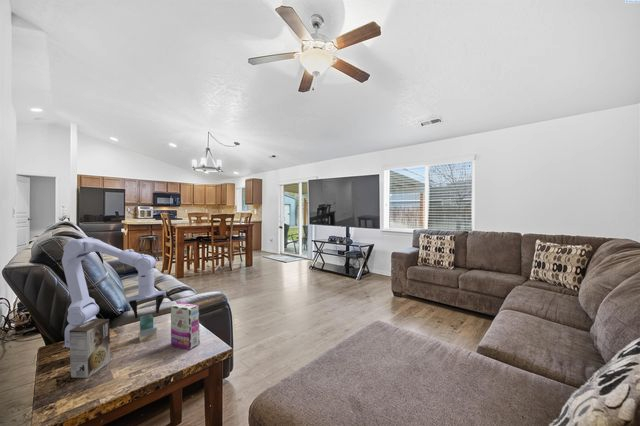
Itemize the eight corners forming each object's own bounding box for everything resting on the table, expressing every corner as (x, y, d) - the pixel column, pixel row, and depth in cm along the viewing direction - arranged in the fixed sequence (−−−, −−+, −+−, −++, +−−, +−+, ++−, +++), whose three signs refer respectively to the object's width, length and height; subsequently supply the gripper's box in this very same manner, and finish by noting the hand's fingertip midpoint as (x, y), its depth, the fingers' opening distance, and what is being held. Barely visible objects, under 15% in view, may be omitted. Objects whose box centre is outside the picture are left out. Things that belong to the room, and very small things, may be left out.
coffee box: (94, 361, 95) (93, 318, 94) (111, 361, 94) (110, 318, 94) (69, 377, 86) (68, 330, 85) (88, 378, 85) (87, 330, 85)
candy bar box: (200, 344, 106) (199, 305, 106) (190, 350, 102) (189, 309, 101) (181, 339, 110) (180, 301, 110) (170, 344, 106) (169, 305, 106)
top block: (141, 337, 108) (140, 331, 108) (140, 332, 113) (140, 326, 113) (156, 333, 112) (156, 327, 112) (154, 328, 116) (154, 323, 116)
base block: (140, 343, 108) (140, 337, 108) (138, 338, 112) (138, 332, 112) (156, 338, 112) (156, 333, 112) (154, 333, 116) (154, 328, 116)
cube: (140, 330, 109) (140, 320, 108) (140, 327, 112) (139, 316, 112) (153, 327, 111) (153, 317, 111) (152, 324, 115) (152, 314, 115)
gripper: (126, 290, 104) (127, 323, 104) (167, 283, 114) (167, 313, 114) (124, 286, 109) (125, 317, 109) (164, 279, 119) (164, 308, 119)
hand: (146, 315), depth 112 cm, fingers open, 7 cm apart
